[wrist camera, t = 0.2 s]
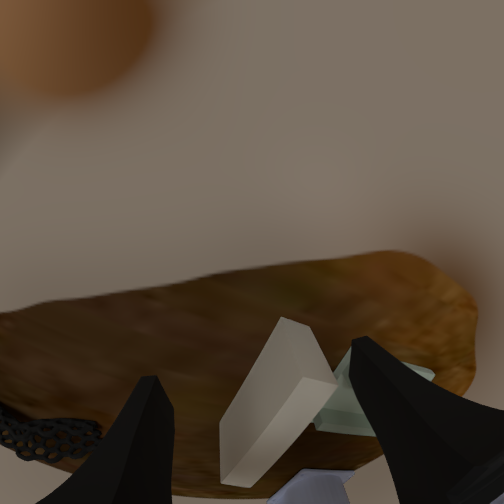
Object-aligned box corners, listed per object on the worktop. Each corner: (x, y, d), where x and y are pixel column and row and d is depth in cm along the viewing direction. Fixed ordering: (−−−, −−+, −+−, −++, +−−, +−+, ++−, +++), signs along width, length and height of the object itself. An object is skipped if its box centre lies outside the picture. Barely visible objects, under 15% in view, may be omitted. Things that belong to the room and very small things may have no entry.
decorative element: (93, 408, 23) (75, 451, 18) (109, 440, 25) (96, 482, 19) (-39, 378, 22) (-61, 403, 16) (-23, 407, 23) (-41, 433, 17)
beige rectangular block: (243, 427, 25) (250, 487, 18) (219, 421, 24) (220, 483, 18) (309, 325, 22) (338, 385, 15) (280, 316, 22) (303, 376, 15)
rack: (386, 425, 27) (396, 443, 24) (303, 413, 25) (310, 437, 22) (430, 369, 25) (445, 386, 22) (350, 346, 23) (364, 368, 20)
